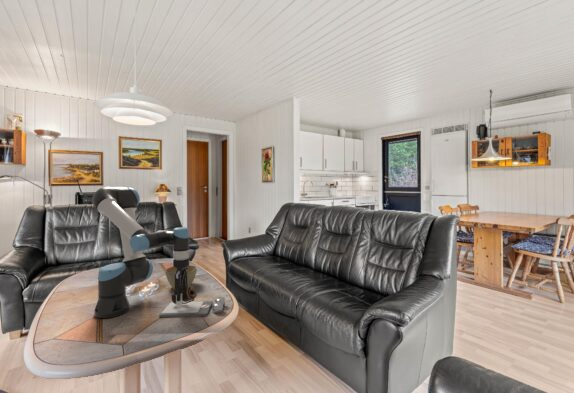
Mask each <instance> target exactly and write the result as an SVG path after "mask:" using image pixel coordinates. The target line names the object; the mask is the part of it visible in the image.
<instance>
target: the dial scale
mask: <svg viewBox="0 0 574 393" xmlns="http://www.w3.org/2000/svg"><path fill="white" fill-rule="evenodd" d="M186 302H187V301H186ZM186 302H183V303H186ZM213 303H214V302H213V301H210V300H209V301H203V300H202V301H191V302H189V303H186V304H182V307H176V304H174V303H173V302H172V301H170V302H169V304H168V305H167V306H166V307H165V308H164V309H163V310H162V312H160V314H159V316H158V317H159V318H182V317H185V318H186V317H207V316H208V314H209V312H210V310H211V307H213Z"/></svg>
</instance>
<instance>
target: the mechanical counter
mask: <svg viewBox="0 0 574 393" xmlns="http://www.w3.org/2000/svg"><path fill="white" fill-rule="evenodd" d="M197 297H198V294H197V291H196V289H195V287H194V285H193V284H191V285H190V286H185V287H183V288H182V300H183V301H184V302H186V303H189V302H195V301H194V300H195V299H196V298H197ZM171 302H173V303H174V304H176V295H174V293H173V294H172V295H171ZM186 303H183V302H182V304H186Z"/></svg>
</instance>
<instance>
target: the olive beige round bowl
mask: <svg viewBox="0 0 574 393" xmlns="http://www.w3.org/2000/svg"><path fill="white" fill-rule="evenodd" d="M187 267H188V270H187V279H188V285H187V286H191V285H193V282H194V281H195V278H196V274H197V269H198V267H197V266H195V265H191V264H189V266H187ZM176 271H177V268H175V267H174V266H173V265H172V266H169V267H168V268H166V269H165V276H166V280H167V282H168V283H169V285H170V286H171V288H172V289H173V290H175V276H174V275H175V274H176Z"/></svg>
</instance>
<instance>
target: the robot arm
mask: <svg viewBox="0 0 574 393" xmlns="http://www.w3.org/2000/svg"><path fill="white" fill-rule="evenodd" d="M140 202H141V199H140V194H139V192H138V191H137V189H135V188H133V187H127V186H104V187H103V186H102V187H100V188H99V189H97V190H96V191H95V192H94V193H93V196H92V205H93V207H94V208H95V210H96V211H97V212H98V213H100V214H103V215H105V217H107V219H109V220H110V221H111V222H112V223H113V225H114V226H116V227H117V228H118V229H119V232H120V239H121V244H122V249H123V254H124V258H123V260H122V262H115V263H110V264H107V265H104V266H103V267H100V269H99V271H98V274H97V276H98V277H97V280H98V281H97V283H98V284H97V285H98V286H97V287H98V290H97V291H98V297H97V298H98V299H97V302H96V305H95V307H94V311H93V314H94V315H93V316H94V317H95V318H98V319H108V318H113V317H118V316H120V315H121V316H122V315H124V314H125V313H126V314H127V312H128V311H130V306H131V304H130V301H129V298H128V297H127V293H126V290H127V288H126V287H130V286H133V285H135V284H138V283H139V284H140V283H142V282H144V281H147V280H149V279H150V278H151V276H152V274H153V271H154V265H153V263H152V261H151V260H150V259H148V258H147V255H145V254H143V251H147V250H151V249H157V248H160V247H161V248H162V247H166V246H167V247H168V246H169V247H173V248H172V252H173V254H172V255H173V256H172V258H173V261H172V262H173V264H172V267H173V266H174V267H175V268H177V271H176V274H175V275H174V276H175V289H174V293H173V294H174V295H176V307H182V302H184V301H183V300H182V288H183V287H185V286H187V285H188V279H187V270H188V267H187V266H189V265H190V254H191V251H190V230H189V228H188V227H186V226H185V227H182V226H181V227H174V228H173V230H165V229H162V230H161V229H160V230H157V231H156V232H148V231H147V230H146V229H144V228H143V226H142V225H141V224H139V222H137V218H136V213H135V212H136V211H137V209H138V208H137V207H138V205H139V204H140Z"/></svg>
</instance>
